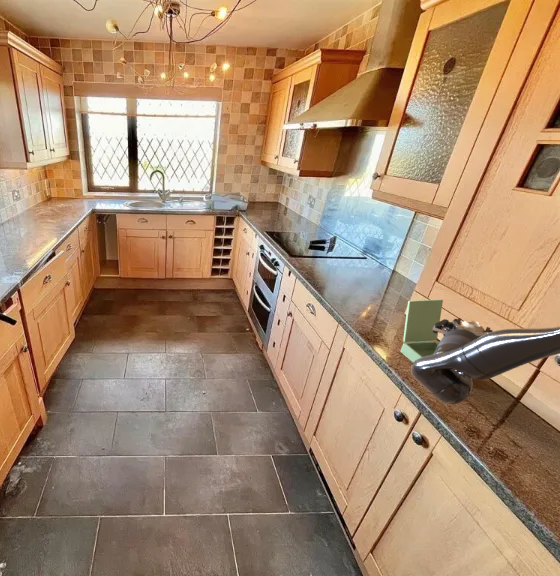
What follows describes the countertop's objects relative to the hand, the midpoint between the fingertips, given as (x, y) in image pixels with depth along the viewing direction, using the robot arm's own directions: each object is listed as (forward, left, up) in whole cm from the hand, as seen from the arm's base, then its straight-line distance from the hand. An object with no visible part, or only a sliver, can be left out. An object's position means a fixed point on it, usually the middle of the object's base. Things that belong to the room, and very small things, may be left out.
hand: (472, 325), depth 87 cm
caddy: (+4, -3, -18) cm, 18 cm away
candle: (+1, +2, -8) cm, 9 cm away
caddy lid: (+8, -10, -7) cm, 15 cm away
